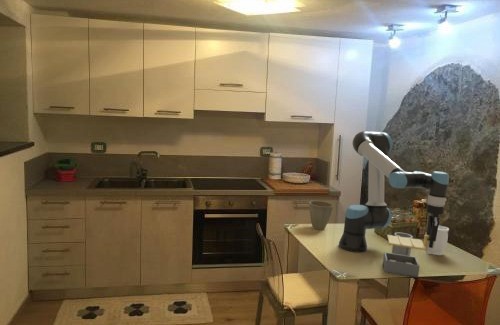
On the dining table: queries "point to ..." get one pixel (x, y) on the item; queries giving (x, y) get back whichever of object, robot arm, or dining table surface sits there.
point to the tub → (401, 265)
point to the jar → (440, 240)
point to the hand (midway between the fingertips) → (428, 252)
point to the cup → (400, 249)
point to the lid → (408, 242)
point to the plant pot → (320, 213)
